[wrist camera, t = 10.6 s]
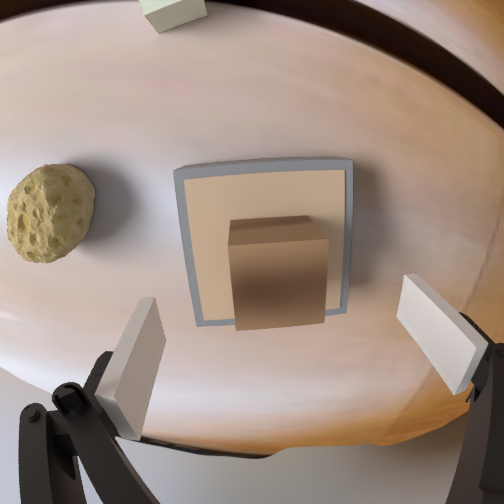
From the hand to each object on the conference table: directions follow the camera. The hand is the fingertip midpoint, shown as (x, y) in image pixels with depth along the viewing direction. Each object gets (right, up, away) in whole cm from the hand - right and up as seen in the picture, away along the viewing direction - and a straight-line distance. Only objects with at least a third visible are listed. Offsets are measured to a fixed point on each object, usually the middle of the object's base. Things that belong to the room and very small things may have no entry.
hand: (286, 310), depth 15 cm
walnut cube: (0, +3, +9) cm, 10 cm away
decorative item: (-22, +8, +12) cm, 26 cm away
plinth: (-1, +5, +14) cm, 15 cm away
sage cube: (-9, +27, +6) cm, 29 cm away
